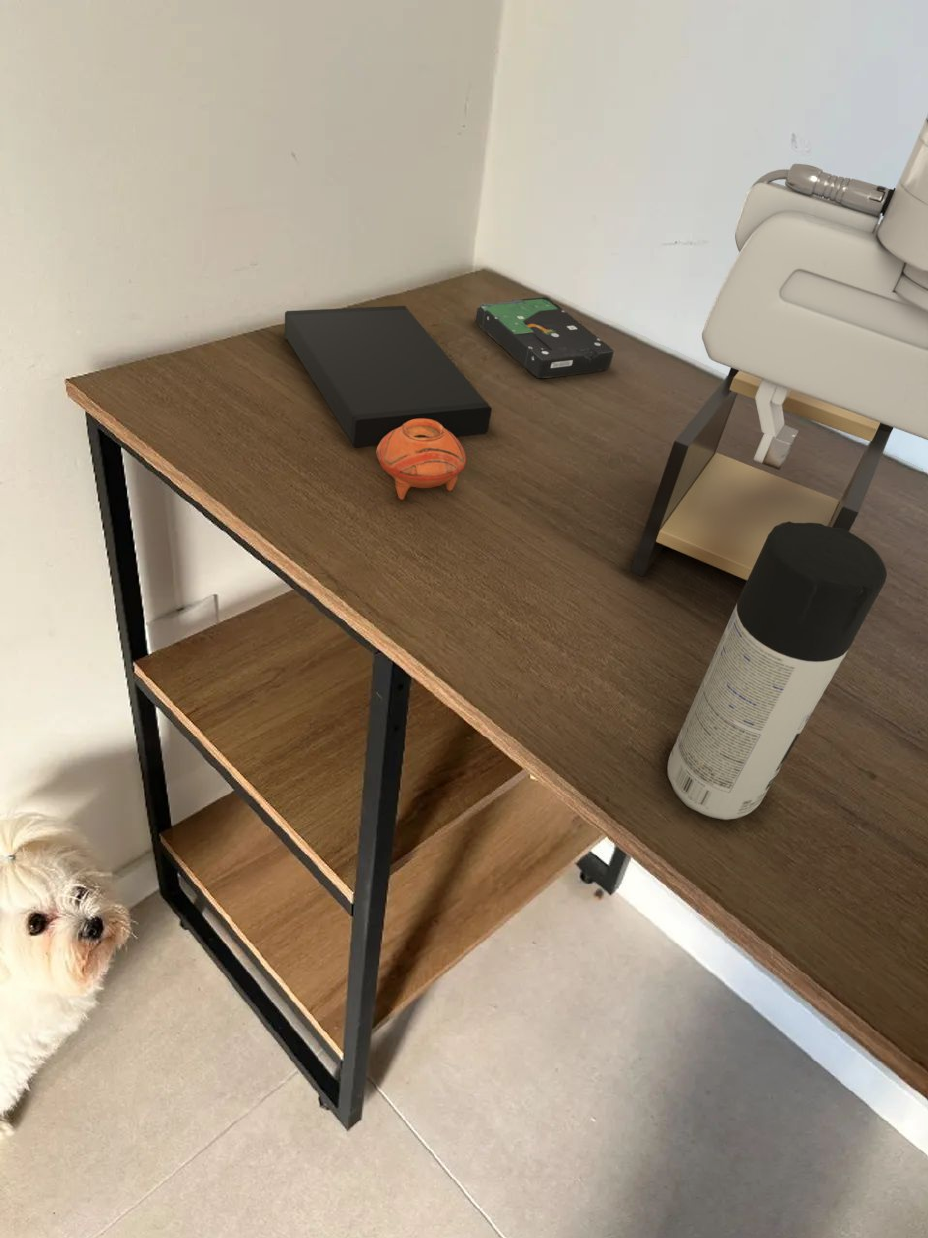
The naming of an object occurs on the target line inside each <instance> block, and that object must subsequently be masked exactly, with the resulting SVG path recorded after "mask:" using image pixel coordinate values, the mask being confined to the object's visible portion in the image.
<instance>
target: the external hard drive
mask: <svg viewBox="0 0 928 1238" xmlns="http://www.w3.org/2000/svg"><path fill="white" fill-rule="evenodd" d="M284 337H285V338H286V340H287V342H288V343H289V345H290V346H291V348H292V349H293V351H294V352H295V355H296V356H297V358H298V359H299V361H300V363H301V364H302V365H303V367H304V368H305V370H306V372H307V374H308V375H309V377H310V379H311V380H312V382H314V385H315V387H316V388H317V390H318V391H319V393H321V396H322V398H323V399H324V401H325V402H326V404H327V405H328V407H329V408H330V410H331V412H332V414H333V415H334V417H335V418H336V420H337V421H338V423H339V424H340V426H341V427H342V429H343V432H344V433H345V434H346V436H347V437H348V439H349V441H350V442H351V444H352V445H353V447H354V448H365V447H374V446H378V445H379V443H380V442H381V440H382V439H383V438H384V437H385V436H386V435H387V434H388V433H390V432H391V431H393V430H395V429H397V428H399V427H401V426H402V425H403V424H404V423H406V422H408V421H410V420H412V419H420V418H424V419H432V420H435V421H437V422H438V423H440V424H441V425H442V426H443V428H445V429H447V430H448V431H449V432H451V433H452V434H453V435H454V436H455V437H456V438H457V437H466V436H475V435H477V436H478V435H485V434H487V433H488V431H489V427H490V422H491V415H492V410H493V409H492V407H491V405H490V404H489V403H488V402H487V401H486V399H485V398H484V397H483V396H482V395H481V394H480V392H479V391H478V390H477V389H476V388H475V386H474V385H473V384H472V383H471V382H470V381H469V380H468V378H467V377H466V376H465V374H463V372H462V371H461V370H460V369H459V368H458V367H457V366H456V364H455V363H454V361H453V360H452V359H451V358H450V357H449V356H448V354H446V353H445V351H444V350H443V349H442V347H440V345H439V344H438V342H437V341H436V340H435V339H433V337H432V335H430V334H429V332H428V331H427V330H426V329H425V328H424V326H423V325H422V324H421V323H420V322H419V321H418V320H417V318H416V316H414V315H413V313H412V312H411V311H410V310H409V309H408V308H407V307H406V305H387V306H366V307H346V308H345V307H344V308H324V309H323V308H322V309H302V310H301V309H300V310H286V311H285V313H284Z"/></svg>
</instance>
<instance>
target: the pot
mask: <svg viewBox="0 0 928 1238" xmlns="http://www.w3.org/2000/svg"><path fill="white" fill-rule="evenodd" d="M375 453H376V458H377V459H378V462H379V464H380V467H381V468H382V469H383V470H384V471H385V472H386V473H387V474H388V475H390V476H391V477H392V478H393V479H394V484H395V490H396V493H397V497H398V500H404V499H405V497H406V494H407V493H408V491H409V489H410V488H417V489H430V488H431V489H432V488H436V487H439V486H442V485H444V484H445V485H446V486H445V487H446V490H447V491H449V492H450V491H452V490H453V489H454V488H455V486H456V484H457V480H458V477H459V474H460V473H461V472H462V471H463V470H464V467H465V466H466V463H467V456H466V452H465V450H464V447H463V445H462V444H461V442H460V440H459V439H458V438H457V437H455V436H454V435H453V434H452V433H451V432H449V431H448V430H447V429H445V428H443V426H442V425H441V424H440V423H438V422H437V421H435V420H432V419H424V418H420V419H412V420H410V421H408V422H406V423H404V424H403V425H402V426H401V427H399V428H397V429H395V430H393V431H391V432H390V433H388V434H387V435H386V436H385V437H384V438H383V439H382V440H381V442H380V443H379V445H377V447H376V452H375Z"/></svg>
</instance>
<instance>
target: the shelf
mask: <svg viewBox="0 0 928 1238" xmlns="http://www.w3.org/2000/svg"><path fill="white" fill-rule="evenodd" d="M729 368H730V369H729V371H728V374H727V375H726V377H725V378H724V379H723V381H721V383H720V384H719V385H718V386H717V388H716V389H715V390H714V391H713V392H712V394H711V395H710V396H709V398H708V399H707V400H706V401H705V402H704V404H703V405H702V406H701V407H700V409H699V410H697V412H696V414H695V415H694V416H693V417H692V418H691V420H690V421H689V422H688V423H687V425H686V426H685V427H684V428H683V430H682V431H681V432H680V433H679V434H678V435H677V437H676V438H675V440H674V441H673V444H672V447H671V450H670V453H669V456H668V459H667V462H666V463H665V467H664V470H663V473H662V476H661V479H660V482H659V485H658V488H657V491H656V494H655V497H654V500H653V503H652V505H651V509H650V512H649V514H648V518H647V521H646V523H645V526H644V529H643V532H642V534H641V535H642V536H641V538H640V541H639V544H638V547H637V550H636V553H635V556H634V559H633V562H632V565H631V567H630V572H631V573H633V574H635V575H637V576H639V577H644V576H645V574H646V573H648V570H649V569H650V567H651V566H652V564H653V563H654V561H655V560H656V559H657V557H658V556H659V555H660V553H661V552H662V550H663V549H664V547H667V548H670V549H672V550H675V551H677V552H679V553H681V554H684V555H686V556H688V557H691V558H693V559H695V560H698V561H700V562H702V563H705V564H707V565H709V566H712V567H714V568H717V569H718V570H721V571H724V572H726V573H728V574H731V575H732V576H736V577H738V578H740V579H742V580H745V581H747V580H748V578H749V576H750V574H751V571H752V569H753V567H754V565H755V563H756V561H757V558H758V556H759V554H760V552H761V550H762V548H763V546H764V543H765V541H766V539H767V537H768V534H769V533H770V532H771V531H772V529H773V528H774V527H775V526H777V525H779V524H781V523H785V522H789V521H790V522H793V523H820V524H823V525H824V526H828V527H833V528H841V529H844V530H847V531H849V532H850V531H851V528H852V527H853V525H854V523H855V521H856V519H857V517H858V515H859V514H860V511H861V508H862V505H863V503H864V500H865V498H866V496H867V494H868V491H869V489H870V486H871V483H872V481H873V478H874V476H875V473H876V471H877V470H878V469H877V468H878V466H879V464H880V461H881V458H882V457H883V453H884V451H885V449H886V446H887V444H888V442H889V438H890V436H891V434H892V431H893V430H894V429H895V428H894V427H891V426H888V425H885V424H883V423H880V422H877V421H875V420H872V419H869V418H866V417H864V416H861V415H858V414H856V413H853V412H850V411H848V410H845V409H842V408H839V407H837V406H834V405H831V404H829V403H826V402H823V401H820V400H818V399H815V398H812V397H810V396H807V395H804V394H801V393H799V392H796V391H793V390H791V392H790V393H789V395H788V396H787V398H786V399H785V401H784V402H783V404H782V409H783V411H785V412H789V413H791V414H794V415H796V416H798V417H799V416H800V417H802V418H805V419H807V420H810V421H813V422H815V423H818V424H821V425H824V426H827V427H829V428H833V429H834V430H837V431H839V432H843V433H845V434H848V435H851V436H854V437H856V438H859V439H862V440H865V441H867V442H868V443H867V445H866V448H865V450H864V452H863V454H862V456H861V458H860V460H859V462H858V464H857V466H856V468H855V470H854V472H853V474H852V476H851V478H850V481H849V482H848V484H847V486H846V488H845V490H844V492H843V494H842V496H841V498H840V500H839V499H838V498H837V499H836V498H834V497H833V496H829V495H827V494H824V493H821V492H819V491H816V490H814V489H812V488H810V487H809V488H808V487H806V486H803V485H801V484H799V483H795V482H794V481H790V480H788V479H786V478H783V477H780V476H777V475H776V474H773V473H770V472H768V471H765V470H762V469H760V468H757V467H755V466H752V465H749V464H747V463H744V462H741V461H739V460H736V459H734V458H732V457H729V456H727V455H724V454H721V453H718V452H717V449H718V447H719V445H720V441H721V439H722V436H723V433H724V431H725V428H726V425H727V423H728V420H729V417H730V415H731V412H732V410H733V408H734V404H735V401H736V399H737V397H738V394H739V395H742V396H744V397H748V398H749V399H752V400H755V396H756V393H757V391H758V388H759V386H760V383H761V381H762V379H761V378H758V377H755V376H753V375H750V374H747V373H744V372H742V371H739V370H736V369H734V368H731V367H729Z"/></svg>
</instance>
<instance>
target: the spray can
mask: <svg viewBox="0 0 928 1238" xmlns="http://www.w3.org/2000/svg"><path fill="white" fill-rule="evenodd" d="M887 576H888V574H887V568H886V565H885V562H884V561H883V559H882V558H881V556H880V554H879V553H878V552H877V551H876V549H874V548H873V547H872V546H871V545H870V544H869V543H868V542H866V541H865V540H863V539H862V538H860V537H859V536H857V535H856V534H853V533H852V532H851V531H850V530H849V531H847V530H844V529H841V528H833V527H828V526H824V525H823V524H820V523H793V522H790V521H789V522H785V523H781V524H779V525H777V526H775V527H774V528H773V529H772V531H771V532H770V533H769V534H768V537H767V539H766V541H765V543H764V546H763V548H762V550H761V552H760V554H759V556H758V558H757V561H756V563H755V565H754V567H753V569H752V571H751V574H750V576H749V578H748V580H746V582H745V584H744V586H743V588H742V591H741V592H740V594H739V596H738V599H737V601H736V604H735V606H734V609H733V611H732V613H731V615H730V617H729V619H728V621H727V625H726V627H725V628H724V632H723V634H722V636H721V638H720V640H719V643H718V645H717V648H716V649H715V652H714V653H713V657H712V659H711V661H710V663H709V665H708V668H707V670H706V673H705V674H704V676H703V679H702V681H701V683H700V686H699V687H698V691H697V693H696V695H695V697H694V700H693V702H692V704H691V707H690V709H689V711H688V713H687V715H686V717H685V719H684V722H683V724H682V727H681V729H680V731H679V734H678V735H677V737H676V741H675V743H674V745H673V747H672V749H671V751H670V754H669V756H668V761H667V768H666V769H667V777H668V781H669V782H670V784H671V787H672V790H673V792H674V793H675V795H676V796H677V797H678V798H679V799H680V800H681V801H682V803H684V805H685V806H686V807H688V808H690V809H691V810H693V811H695V812H697V813H700V814H702V815H704V816H706V817H709V818H713V819H718V820H723V821H730V820H736V819H741V818H742V817H745V816H747V815H749V814H751V813H752V812H753V811H754V810H756V809H757V808H758V807H759V805H760V804H761V803H762V801H763V800H764V798H765V796H766V795H767V793H768V791H769V790H770V787H771V786H772V784H773V782H774V781H775V779H776V778H777V777H778V775H779V773H780V770H781V768H782V766H783V765H784V763H785V761H786V759H787V758H788V756H789V754H790V752H791V751H792V749H793V747H794V746H795V744H796V742H797V740H798V738H799V736H800V735H801V733H802V731H803V729H804V728H805V726H806V724H807V723H808V721H809V719H810V717H811V715H812V714H813V712H814V710H815V709H816V707H817V706H818V704H819V702H820V700H821V699H822V697H823V695H824V693H825V691H826V690H827V688H828V686H829V685H830V683H831V681H832V679H833V677H834V675H835V673H836V672H837V670H838V669H839V667H840V666H841V664H842V662H843V660H844V659H845V657H846V655H847V653H848V651H849V649H850V648H851V646H852V644H853V642H854V640H855V638H856V636H857V635H858V633H859V630H861V627H862V625H863V623H864V622H865V619H866V618H867V616H868V614H869V612H870V611H871V610H872V607H873V605H874V604H875V601H876V600H877V598H878V596H879V594H880V593H881V591H882V589H883V587H884V585H885V583H886V580H887Z"/></svg>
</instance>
